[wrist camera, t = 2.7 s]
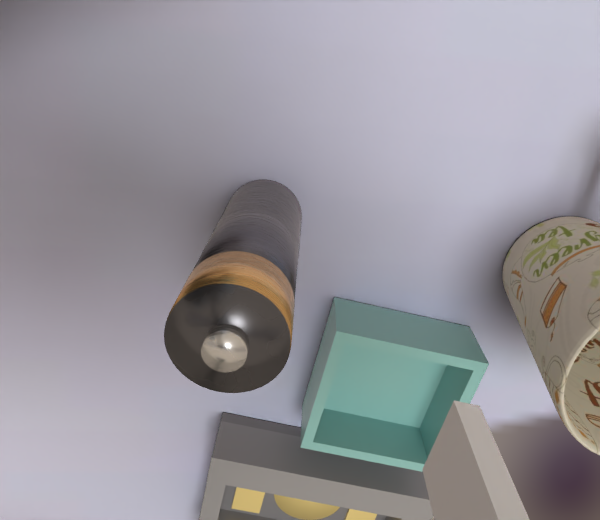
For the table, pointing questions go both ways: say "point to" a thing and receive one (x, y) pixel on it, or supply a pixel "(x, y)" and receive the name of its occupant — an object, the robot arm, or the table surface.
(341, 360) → the tray
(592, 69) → the table surface
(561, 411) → the mug
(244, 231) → the aa cell
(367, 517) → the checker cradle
